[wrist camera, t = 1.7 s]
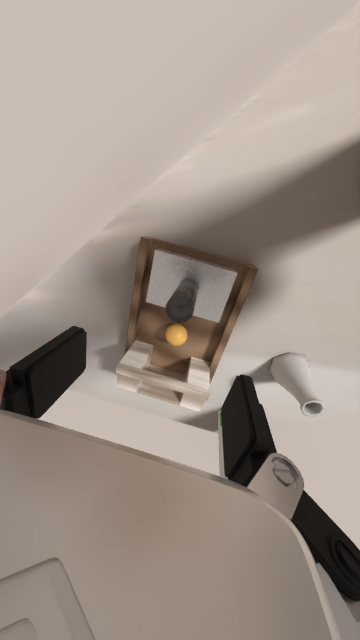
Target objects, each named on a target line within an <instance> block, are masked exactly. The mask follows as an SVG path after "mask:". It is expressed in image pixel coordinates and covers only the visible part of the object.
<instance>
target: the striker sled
mask: <svg viewBox="0 0 360 640" xmlns="http://www.w3.org/2000/svg"><path fill="white" fill-rule="evenodd" d="M236 276H237V271H236V270H235V269H234V268H231V267H227V266H224V265H220V264H216V263H213V262H209V261H206V260H202V259H198V258H195V257H191V256H187V255H184V254H180V253H177V252H173V251H169V250H166V249H162V248H161V249H157V250H155V252H154V258H153V264H152V270H151V275H150V281H149V287H148V293H147V298H146V302H148V303H151V304H155V305H158V306H162V307H165V308H166V313H167V315H168V317H169V318H170V319H171V320H173V321H175V322H178V323H183V322H186V321H188V320H189V319H190V318H191V317H192V315H193V316H197V317H200V318H204V319H207V320H211V321H214V322H218V323H219V321H220V319H221V316H222V313H223V311H224V308H225V305H226V303H227V300H228V297H229V295H230V292H231V289H232V287H233V284H234V281H235V279H236Z"/></svg>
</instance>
